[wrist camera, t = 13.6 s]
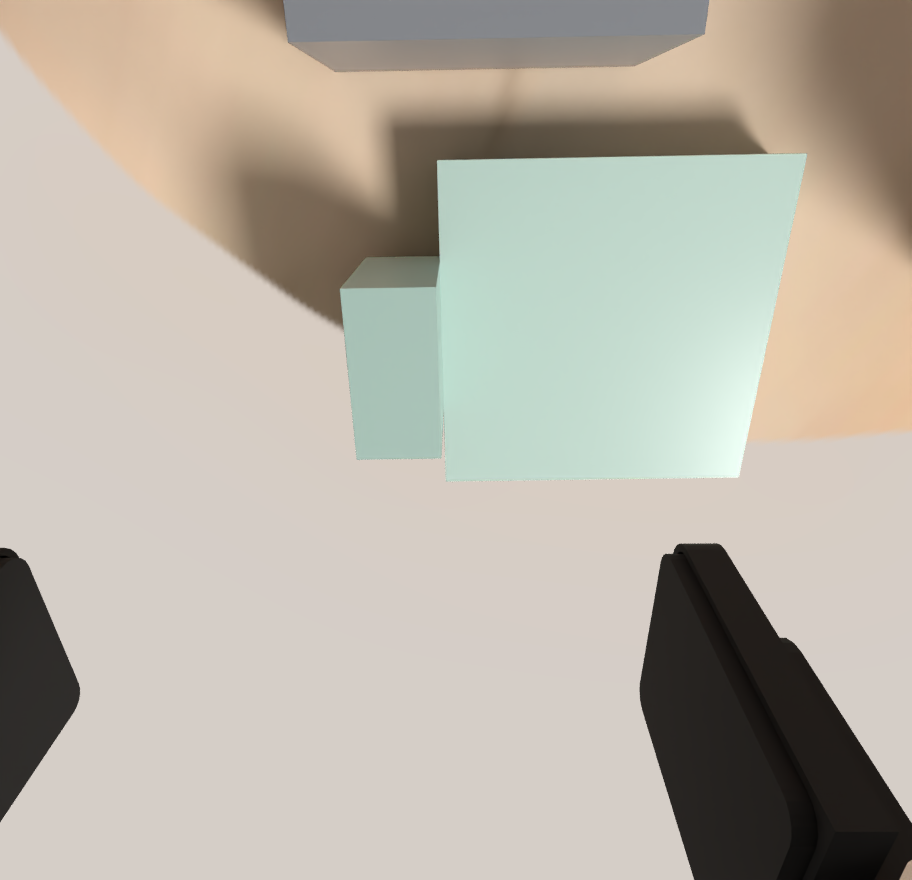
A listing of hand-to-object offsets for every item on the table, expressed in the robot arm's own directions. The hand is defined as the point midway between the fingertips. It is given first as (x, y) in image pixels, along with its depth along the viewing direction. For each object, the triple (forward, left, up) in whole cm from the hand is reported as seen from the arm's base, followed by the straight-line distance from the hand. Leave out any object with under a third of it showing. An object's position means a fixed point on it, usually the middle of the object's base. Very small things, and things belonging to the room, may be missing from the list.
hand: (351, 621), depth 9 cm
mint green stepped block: (0, +6, -19) cm, 20 cm away
